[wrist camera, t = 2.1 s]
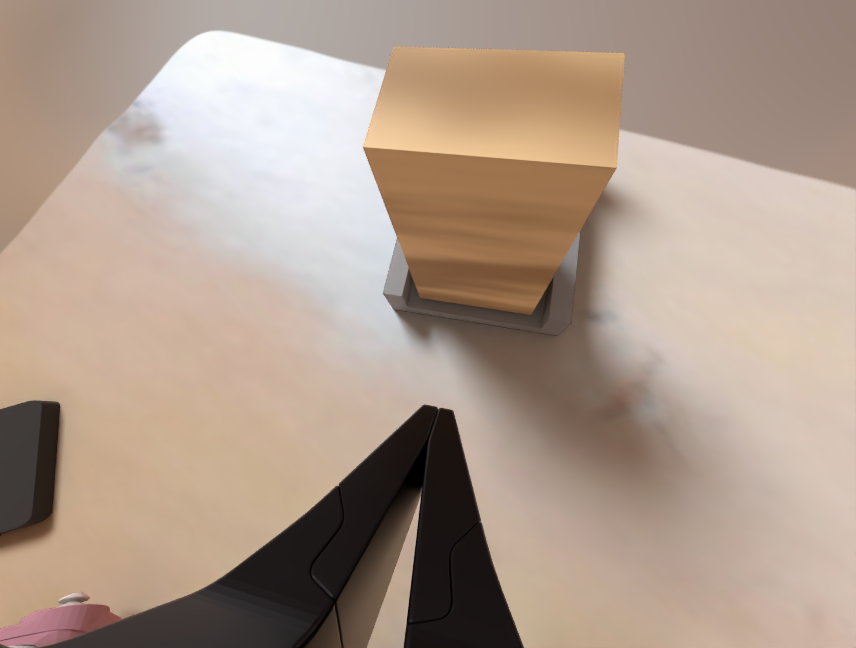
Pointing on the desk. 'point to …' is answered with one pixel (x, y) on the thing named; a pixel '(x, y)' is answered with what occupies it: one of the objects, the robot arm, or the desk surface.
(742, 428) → the desk surface
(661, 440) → the desk surface
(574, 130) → the oak slider
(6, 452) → the smart home device
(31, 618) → the video game controller
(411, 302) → the rail box
